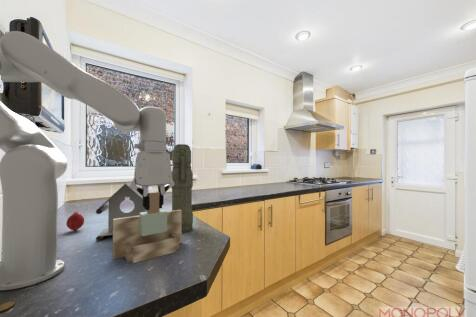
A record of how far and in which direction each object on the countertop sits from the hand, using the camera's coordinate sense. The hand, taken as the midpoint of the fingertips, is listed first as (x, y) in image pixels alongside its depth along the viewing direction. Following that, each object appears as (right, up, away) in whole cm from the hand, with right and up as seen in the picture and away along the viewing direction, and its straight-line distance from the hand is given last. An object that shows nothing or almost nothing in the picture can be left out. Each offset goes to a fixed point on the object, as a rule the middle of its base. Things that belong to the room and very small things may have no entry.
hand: (153, 207), depth 63 cm
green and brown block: (0, -7, 0) cm, 7 cm away
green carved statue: (+3, -14, +22) cm, 27 cm away
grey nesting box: (-17, -15, +17) cm, 28 cm away
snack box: (-19, -15, +39) cm, 46 cm away
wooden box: (0, -13, -1) cm, 13 cm away
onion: (-41, -15, +22) cm, 49 cm away
